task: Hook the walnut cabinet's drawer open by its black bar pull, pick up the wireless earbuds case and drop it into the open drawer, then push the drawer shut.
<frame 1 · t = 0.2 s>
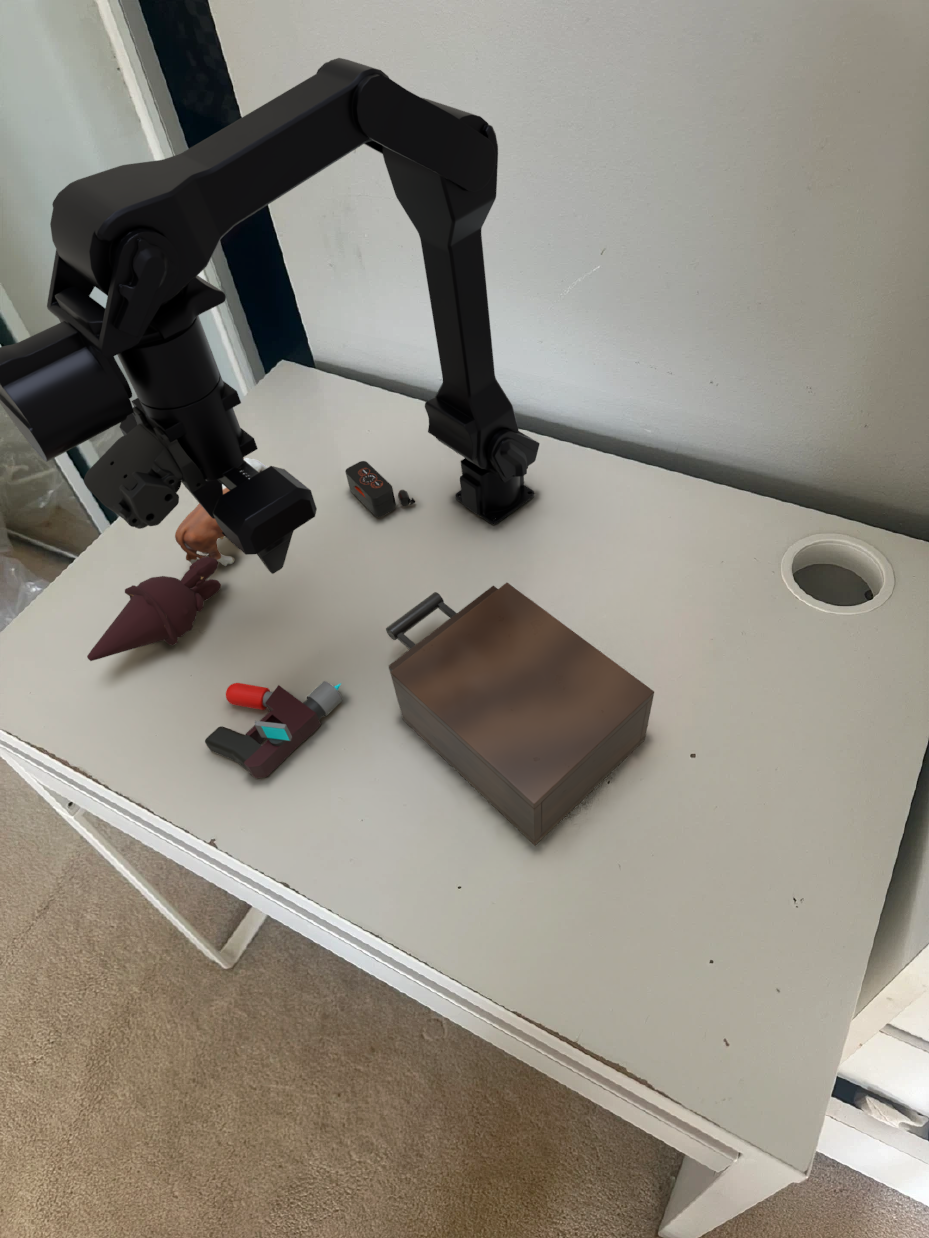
hand: (246, 541, 66), 15 cm above the table, tool pointing down, fingers open, 9 cm apart
cabinet: (521, 729, 70), on the table
toy gun: (274, 718, 73), on the table
drawer: (485, 677, 69), point 4 cm above the table, slide at 0.0 cm, touching cabinet
bull figurine: (238, 542, 88), on the table
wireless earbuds: (382, 502, 90), on the table
icecream: (170, 634, 80), on the table
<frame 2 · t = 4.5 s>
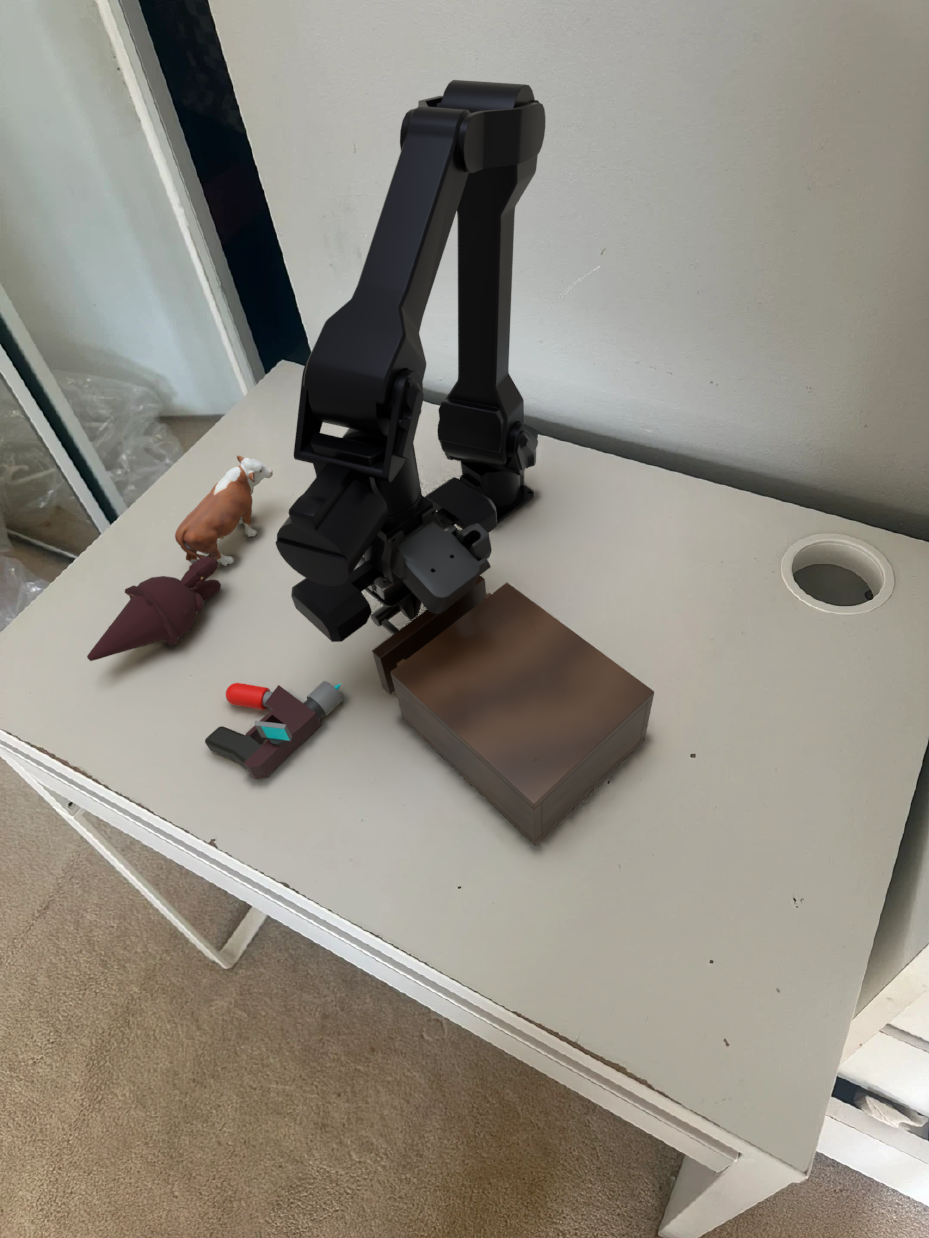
hand: (411, 615, 74), 4 cm above the table, tool pointing down, fingers closed, pressing on drawer
drawer: (468, 662, 70), point 4 cm above the table, slide at 2.3 cm, touching gripper
everything else where it was.
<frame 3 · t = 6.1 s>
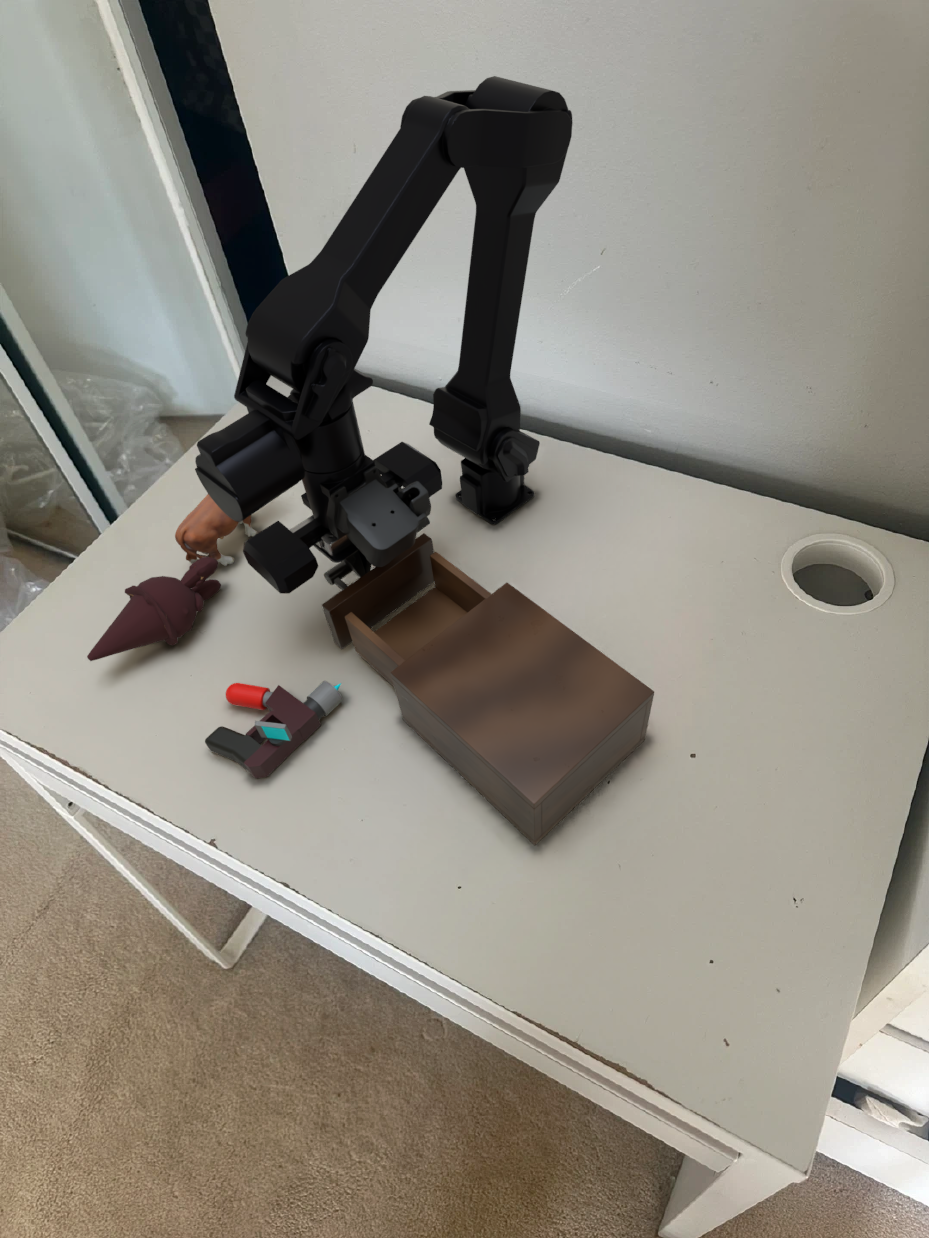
hand: (362, 575, 78), 3 cm above the table, tool pointing down, fingers closed, pressing on drawer
drawer: (414, 617, 74), point 4 cm above the table, slide at 9.7 cm, touching gripper
everything else where it was.
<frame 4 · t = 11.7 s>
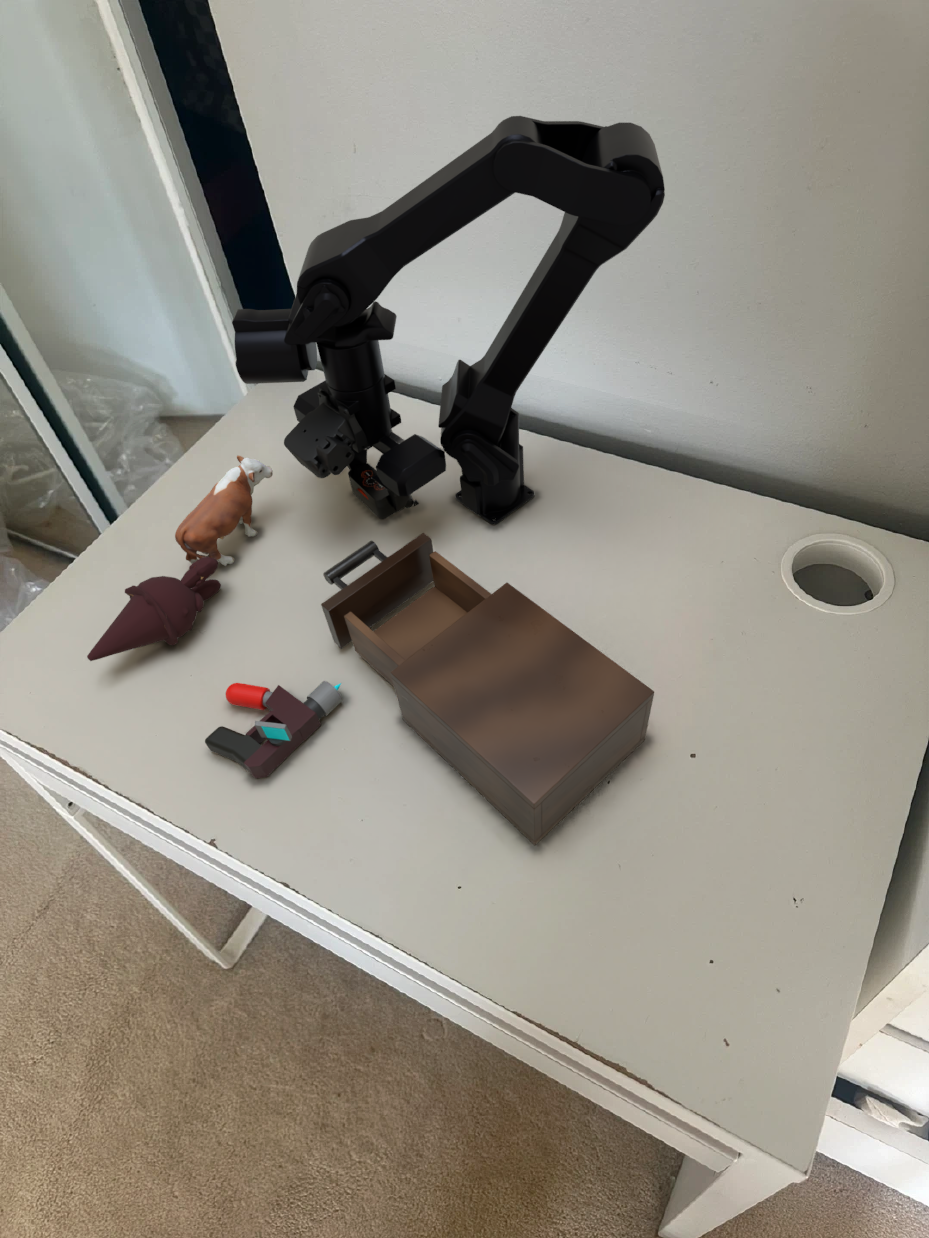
hand: (379, 494, 89), 1 cm above the table, tool pointing down, fingers closed on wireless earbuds, 7 cm apart
drawer: (413, 616, 74), point 4 cm above the table, slide at 9.8 cm
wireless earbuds: (385, 504, 89), on the table, touching gripper
everything else where it was.
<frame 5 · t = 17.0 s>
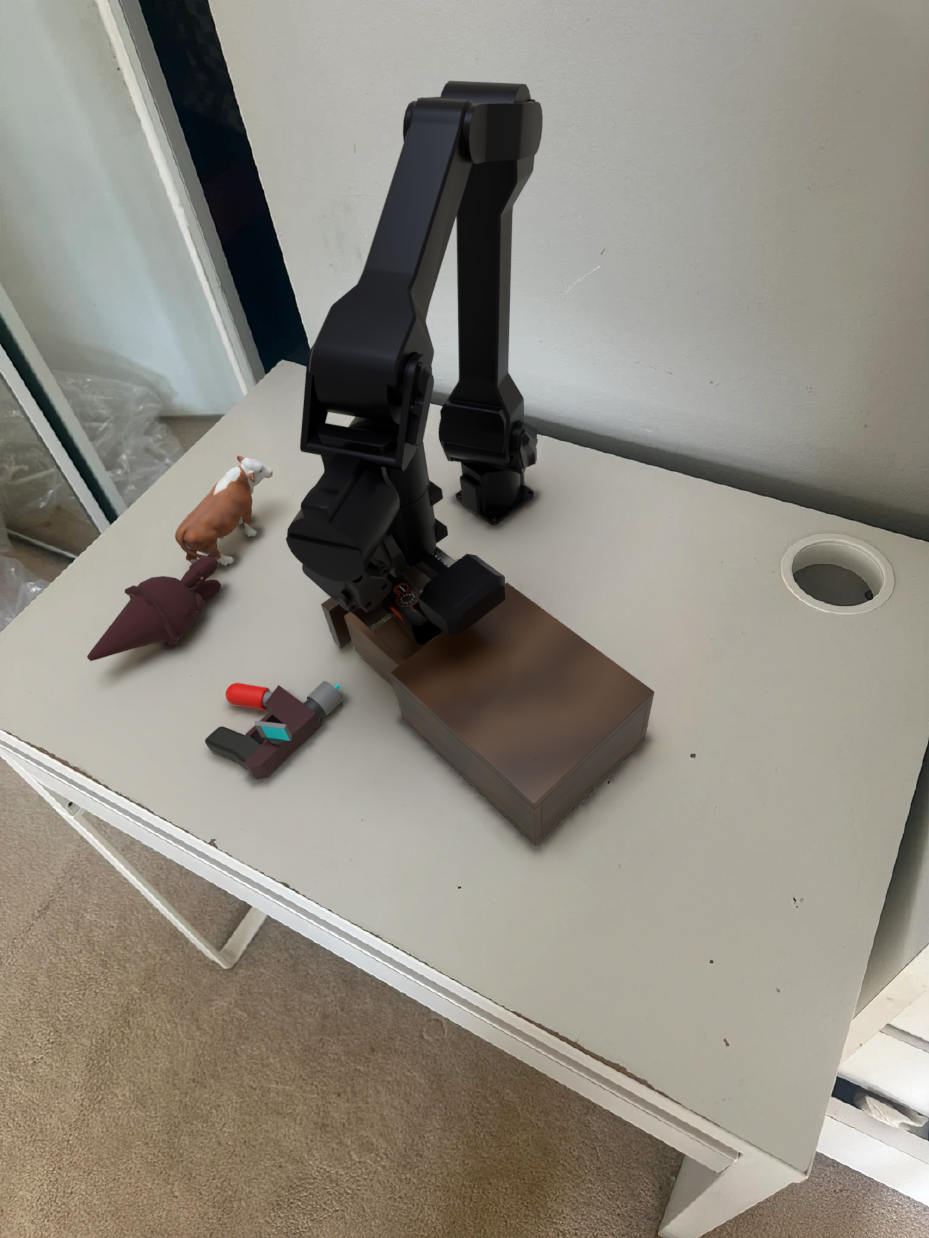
hand: (417, 611, 72), 5 cm above the table, tool pointing down, fingers closed on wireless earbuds, 7 cm apart
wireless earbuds: (423, 623, 73), point 4 cm above the table, touching gripper
everything else where it was.
when the fingers open (7 cm above the table, at t = 35.1 s): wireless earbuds drops 4 cm, resting on drawer.
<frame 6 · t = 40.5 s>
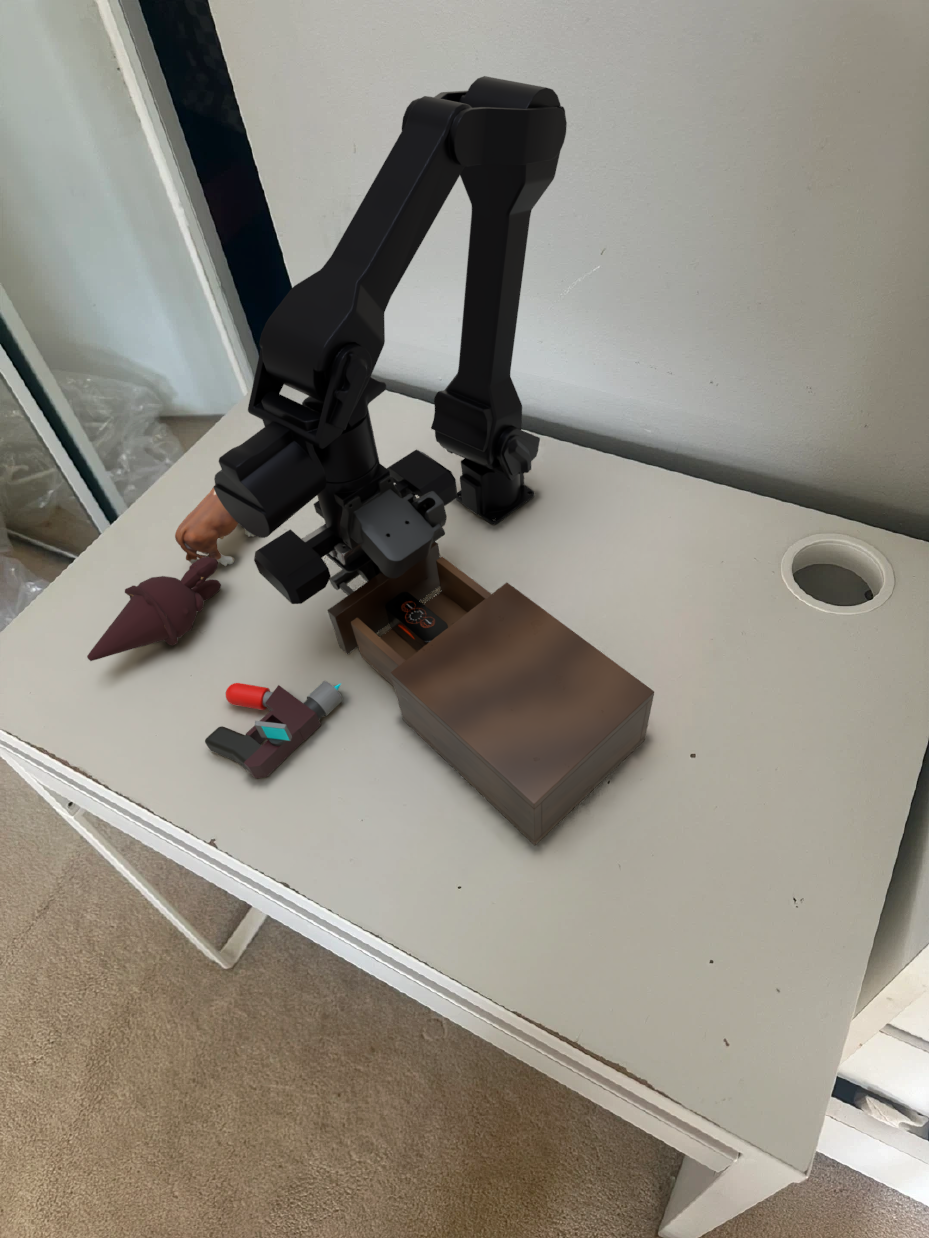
hand: (374, 584, 77), 4 cm above the table, tool pointing down, fingers closed
drawer: (420, 622, 73), point 4 cm above the table, slide at 8.8 cm, touching gripper, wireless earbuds
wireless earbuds: (431, 638, 75), point 2 cm above the table, touching drawer
everything else where it was.
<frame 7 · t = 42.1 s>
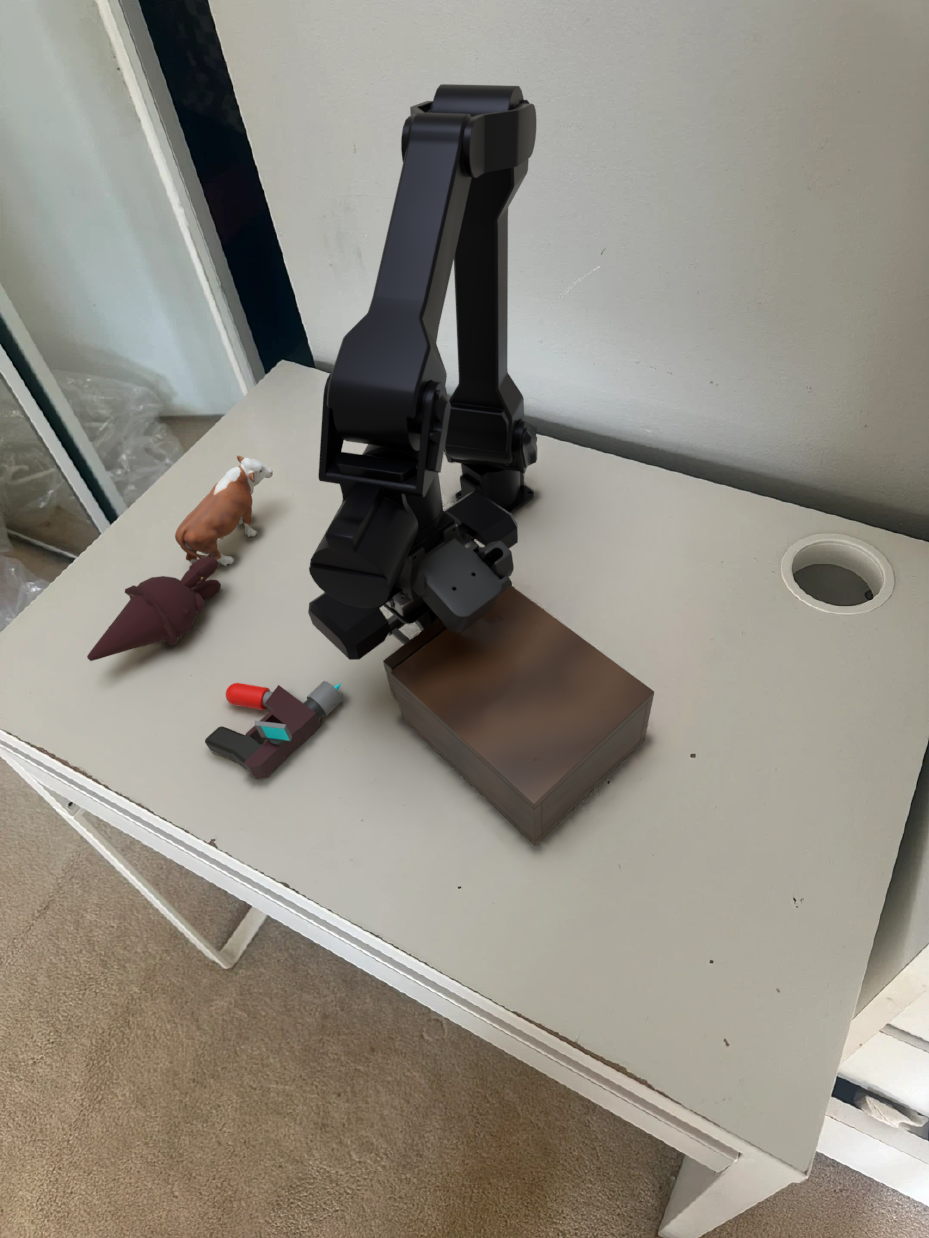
hand: (428, 631, 73), 4 cm above the table, tool pointing down, fingers closed, pressing on drawer
drawer: (480, 672, 69), point 4 cm above the table, slide at 0.7 cm, touching gripper, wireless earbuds
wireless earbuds: (490, 688, 71), point 2 cm above the table, touching drawer
everything else where it was.
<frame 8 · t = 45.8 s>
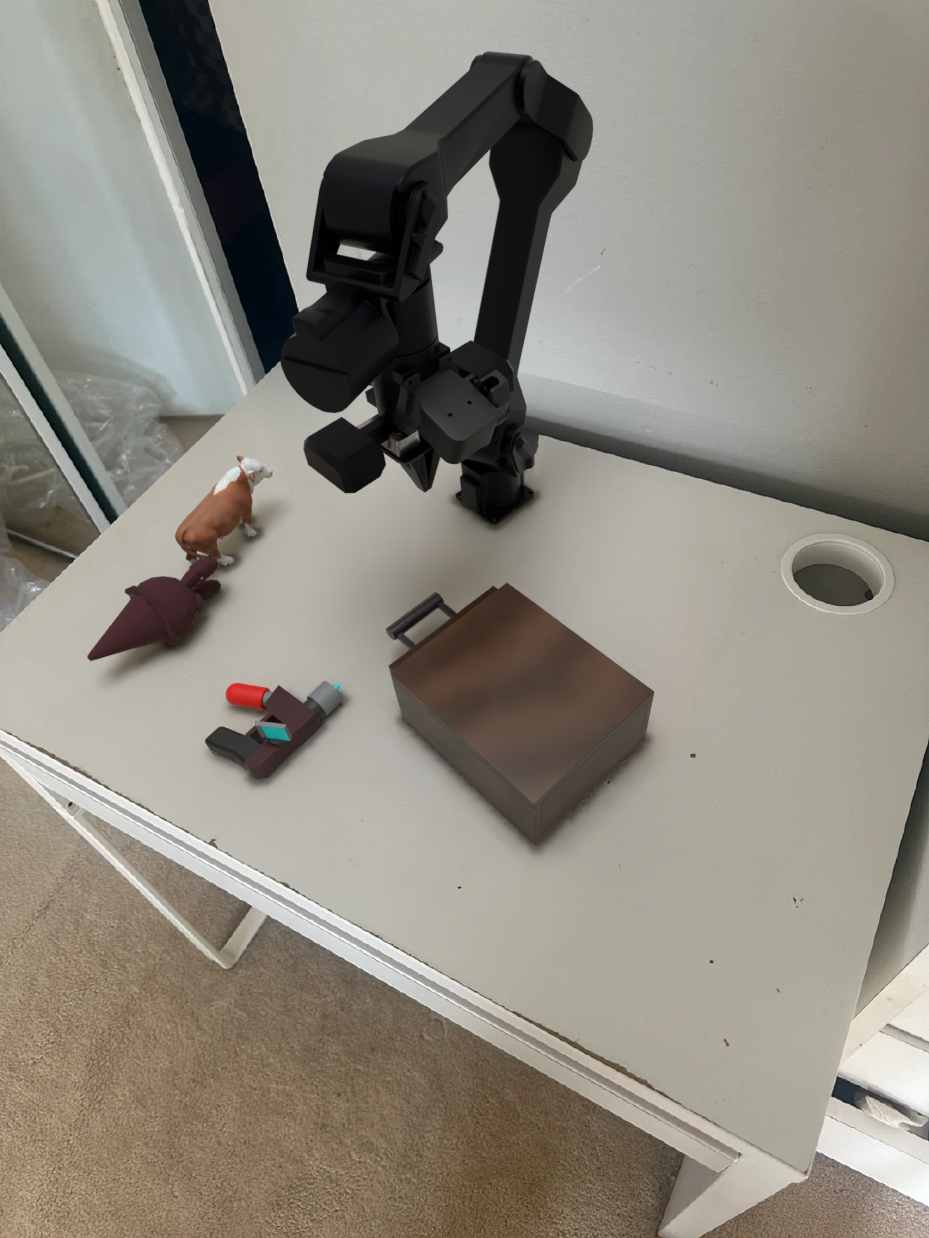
hand: (424, 488, 72), 12 cm above the table, tool pointing down, fingers closed
drawer: (485, 677, 69), point 4 cm above the table, slide at 0.0 cm, touching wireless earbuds
everything else where it was.
at the end: drawer pulled out 9.8 cm at the most during the clip, back to where it started at the end; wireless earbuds inside the target area in the cabinet (3.4 cm from its centre), point 1.8 cm above the cabinet's base; drawer slide at 0.0 cm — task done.
